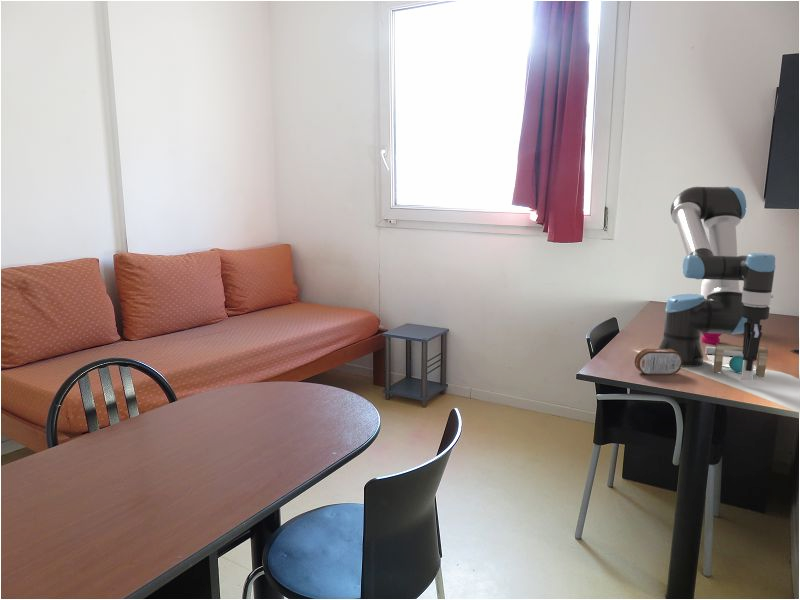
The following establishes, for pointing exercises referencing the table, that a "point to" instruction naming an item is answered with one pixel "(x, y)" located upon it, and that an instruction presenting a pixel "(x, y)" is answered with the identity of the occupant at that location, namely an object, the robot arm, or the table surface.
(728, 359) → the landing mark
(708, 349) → the stopper wall
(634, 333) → the table surface
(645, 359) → the tin
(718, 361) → the bridge
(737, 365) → the ball
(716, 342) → the pepper mill
